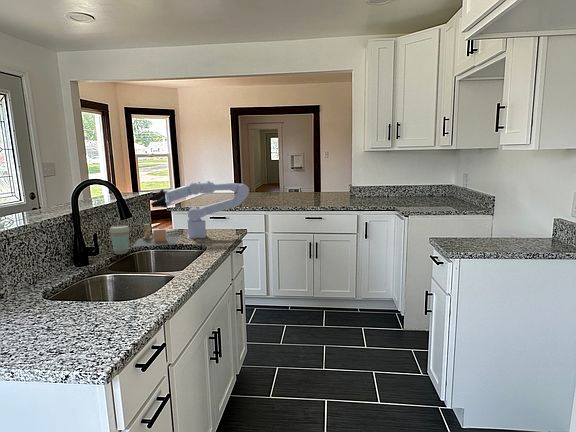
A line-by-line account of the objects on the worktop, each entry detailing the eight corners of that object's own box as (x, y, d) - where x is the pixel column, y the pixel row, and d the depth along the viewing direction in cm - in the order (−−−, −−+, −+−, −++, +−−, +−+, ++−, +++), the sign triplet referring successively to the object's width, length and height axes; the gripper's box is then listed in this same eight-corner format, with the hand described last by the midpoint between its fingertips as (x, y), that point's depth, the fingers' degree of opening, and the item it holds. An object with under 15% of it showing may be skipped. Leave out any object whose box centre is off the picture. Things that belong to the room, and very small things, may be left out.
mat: (178, 237, 205) (178, 236, 205) (175, 245, 188) (175, 244, 188) (138, 239, 201) (138, 238, 201) (132, 247, 184) (132, 246, 184)
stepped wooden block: (152, 238, 201) (151, 223, 200) (151, 240, 198) (150, 224, 196) (144, 238, 201) (143, 223, 199) (143, 240, 197) (141, 225, 195)
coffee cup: (135, 250, 177) (133, 225, 176) (123, 255, 169) (121, 229, 167) (119, 250, 180) (117, 224, 178) (106, 254, 171) (104, 228, 169)
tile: (166, 240, 196) (166, 228, 195) (166, 241, 194) (165, 229, 194) (154, 241, 195) (153, 229, 194) (154, 241, 193) (153, 230, 192)
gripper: (174, 181, 204) (148, 189, 202) (175, 193, 192) (148, 201, 190) (178, 193, 208) (153, 201, 206) (180, 204, 196) (154, 213, 194)
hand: (151, 202), depth 198 cm, fingers open, 7 cm apart
